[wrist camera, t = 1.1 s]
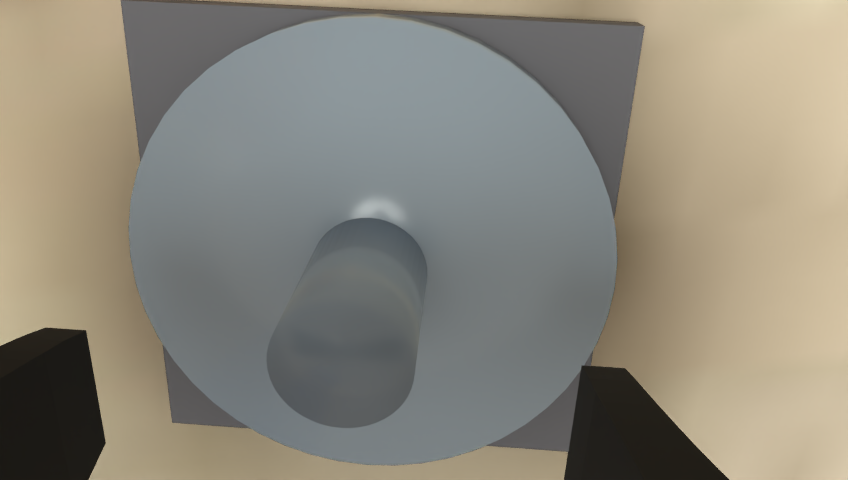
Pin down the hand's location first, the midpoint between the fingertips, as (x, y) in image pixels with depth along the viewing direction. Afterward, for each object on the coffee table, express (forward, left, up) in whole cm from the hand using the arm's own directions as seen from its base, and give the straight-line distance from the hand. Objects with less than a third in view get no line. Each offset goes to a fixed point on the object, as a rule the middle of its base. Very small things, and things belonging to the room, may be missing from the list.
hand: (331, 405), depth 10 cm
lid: (0, 0, -6) cm, 6 cm away
